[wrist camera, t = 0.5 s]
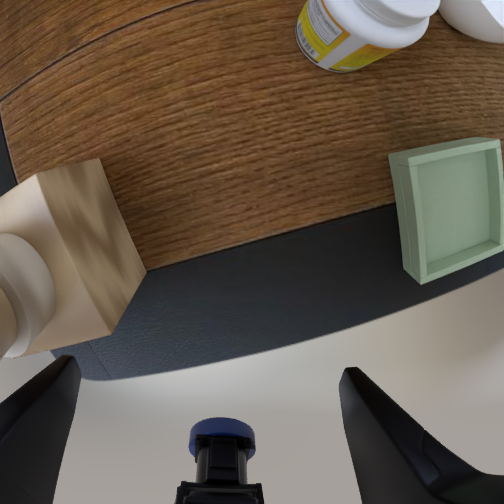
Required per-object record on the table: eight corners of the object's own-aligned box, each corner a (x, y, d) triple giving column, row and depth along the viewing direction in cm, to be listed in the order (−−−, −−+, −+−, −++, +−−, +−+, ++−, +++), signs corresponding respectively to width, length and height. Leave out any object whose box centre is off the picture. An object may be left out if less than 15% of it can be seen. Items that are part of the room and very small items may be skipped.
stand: (147, 272, 22) (112, 334, 15) (60, 302, 23) (13, 358, 16) (99, 157, 19) (35, 172, 12) (14, 205, 20) (-51, 237, 12)
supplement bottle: (382, 33, 17) (468, -13, 7) (350, 89, 19) (435, 62, 9) (315, -9, 16) (366, -87, 6) (277, 46, 17) (313, -23, 8)
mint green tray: (483, 238, 23) (504, 250, 20) (402, 268, 23) (420, 285, 21) (476, 136, 20) (499, 139, 17) (386, 154, 20) (407, 157, 17)
